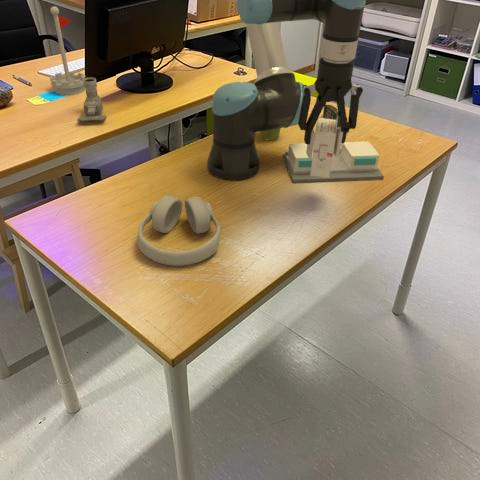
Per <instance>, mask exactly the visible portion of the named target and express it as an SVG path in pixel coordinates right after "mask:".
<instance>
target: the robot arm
mask: <svg viewBox="0 0 480 480" xmlns="http://www.w3.org/2000/svg"><path fill="white" fill-rule="evenodd" d="M233 1H234V2H236V10H237V14H238V15H239V19H240V20H241V21H242V22H243V23H244V24H245V26H246V31H247V36H248V40H249V45H250V49H251V54H252V59H253V62H254V67H255V73H256V78H255V80H254V82H253V83H252V82H250V81H249V82H248V81H242V82H241V81H234V82H229V83H227V84H223V85H221V86H220V87H218V88H217V89H216V91H214V93H213V96H212V106H211V112H212V139H213V140H212V145H211V148H210V151H209V154H208V156H207V162H206V163H207V164H206V166H207V171H208V172H209V174H210V175H212V176H213V177H216V178H217V179H218V178H219V179H222V180H227V181H243V180H248V179H250V178H252V177H255V176H256V175H257V174H258V173H259V171H260V168H261V167H260V166H261V165H260V163H261V162H260V157H259V154H258V150H257V146H256V143H255V142H256V140H255V139H256V133H260V131H266V130H272V129H278V128H281V129H282V128H284V129H286V128H290V127H293V126H297V125H298V127H299V128H300V130H301V131H304V137H303V142H304V143H306V144H307V151H306V153H307V155H308V158H312V152H313V145H314V139H315V131H314V128H315V126H316V125H317V121H318V118H320V115H321V113H322V112H323V110H324V106H325V105H327V103H330V102H335V103H336V106H337V107H336V109H338V114H339V120H340V126H341V128H337V132H336V139H335V146H334V152H333V153H334V155H335V156H336V157H339V154H340V149H342V143H345V142H346V139H347V135H348V133H349V132H350V130H351V129H352V130H355V129H356V128H357V122H358V121H357V120H358V113H359V104H360V99H361V96H362V93H363V92H364V89H363V87H362V86H361V85H360V84H359V83H356V84H353V83H352V78H353V72H354V68H355V61H354V60H355V59H356V55H357V49H358V44H359V43H358V42H359V36H360V32H361V27H362V21H363V15H364V9H365V5H366V3H367V2H366V0H233ZM308 20H310V21H311V20H315V21H317V22H320V23H323V31H322V37H321V38H322V39H321V46H320V50H319V51H320V52H319V55H320V56H321V57H320V59H319V60H318V61H319V62H318V67H317V73H316V74H317V76H316V77H317V78H316V80H315V81H314V84H313V83H312V84H309V85H307V84H304V83H303V82H300V81H296V75H295V73H294V72H293V71H291V70H290V69H288V66H287V60H286V56H285V50H284V46H283V42H282V41H283V40H282V37H281V32H280V27H279V23H283V22H296V21H308ZM315 91H316V92H317V94H318V95H317V97H316V100H315V103H314V105H313V107H312V110H311V112H310V111H309V110H310V107H311V106H310V105H311V100H312V96H313V95H314V92H315ZM349 92H350V94H351V95H350V101H349V111H348V117H347V112H346V111H347V110H346V106H345V105H346V102H345V97H346V95H347V94H348V93H349ZM309 112H310V113H309ZM308 115H309V116H308Z"/></svg>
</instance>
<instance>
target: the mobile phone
mask: <svg viewBox="0 0 480 480" xmlns="http://www.w3.org/2000/svg"><path fill="white" fill-rule="evenodd" d="M337 110H338V108H337V107H335V106H333V105H332V104H326V105H325V106H324V107H323V110H322V118H324V119H333V120H336V119H337ZM337 128H341V126H340V120H339V114H338V122H337Z"/></svg>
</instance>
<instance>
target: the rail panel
mask: <svg viewBox="0 0 480 480" xmlns="http://www.w3.org/2000/svg"><path fill="white" fill-rule="evenodd" d="M313 148H314V145H313ZM306 151H307V144H306V143H305V142H304V143H289V144H288V150H287V149H286V150H284V153H282V154H281V157H282V159H283V162H284V164H285V168H286V169H287V172H288V174H289V177H290V179H291V181H292V184H296V183H297V184H302V183H322V182H324V183H328V182H329V183H330V182H350V181H351V182H352V181H353V182H354V181H373V180H374V181H375V180H376V181H377V180H379V181H380V180H384V178H385V176H384V174H383V173H382V172H381V170H380V168H379V167H378V163H379V160H380V154H379V152H378V151H377V150H376V148H375V147H374V145H372V144H371V142H370V141H345V143H341V148H340V154H339V157H336V156H335V155H334V153H333V158H332V164H331V169H330V175H329V178H326V177H318V176H310V173H311V165H312V158H308V155H307V153H306ZM312 157H313V152H312Z"/></svg>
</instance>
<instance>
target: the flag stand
mask: <svg viewBox="0 0 480 480" xmlns="http://www.w3.org/2000/svg"><path fill="white" fill-rule="evenodd" d="M49 9H50V14H52V16H53V20H54V26H55V30H56V35H57V40H58V41H57V42H58V44H59V45H58V46H59V51H60V57H61V61H62V65H63V66H62V67H63V70H64V74H62V72H58V73H55V74H54V76H53V75H51V76H50V77H49V80H50V85H51V87H52V88H54V91H55V93H56V94H57V93H58V94H57V95H59V94H60V96H67V97H68V96H75V95H79V94H82V93H84V92H86V90H85V88H84V83H83V79H85V77H86V75H85V74H84V73H83V72H77V74H75V72H74V71H70V70H69V67H68V61H67V56H66V50H65V45H64V40H63V36H62V30H61V29H62V28H63V27H65V26H66V25H68V24H69V23H71V22H72V20H71V19H68V18H66V17H63V16H61V15H59V14H60V10H59V8H58V6H52V7H50V8H49Z"/></svg>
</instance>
